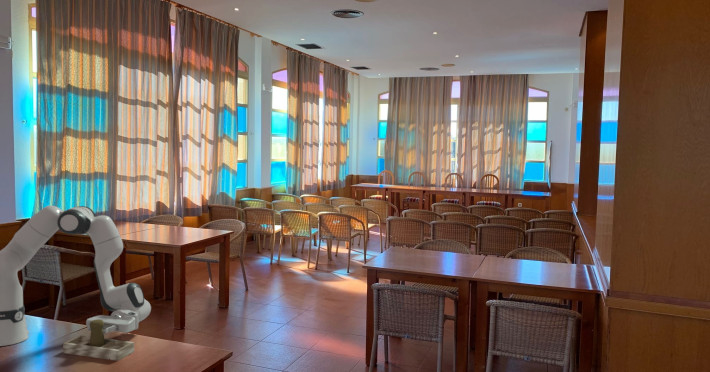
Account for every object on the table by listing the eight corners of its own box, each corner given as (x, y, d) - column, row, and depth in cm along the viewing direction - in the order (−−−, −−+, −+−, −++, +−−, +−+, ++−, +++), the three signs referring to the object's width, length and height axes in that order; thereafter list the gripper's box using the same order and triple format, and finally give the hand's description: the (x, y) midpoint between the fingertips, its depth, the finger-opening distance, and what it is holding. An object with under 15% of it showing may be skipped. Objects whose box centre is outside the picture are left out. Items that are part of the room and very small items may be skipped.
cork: (99, 350, 201) (98, 323, 200) (85, 349, 202) (84, 322, 201) (108, 344, 207) (108, 318, 206) (95, 343, 208) (94, 317, 207)
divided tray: (63, 352, 204) (63, 343, 203) (81, 344, 212) (80, 335, 212) (118, 360, 197) (118, 350, 197) (134, 351, 206) (134, 342, 206)
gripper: (100, 309, 219) (75, 319, 206) (141, 314, 214) (118, 325, 201) (100, 324, 219) (75, 335, 206) (141, 329, 214) (118, 340, 201)
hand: (97, 330), depth 203 cm, fingers open, 6 cm apart
